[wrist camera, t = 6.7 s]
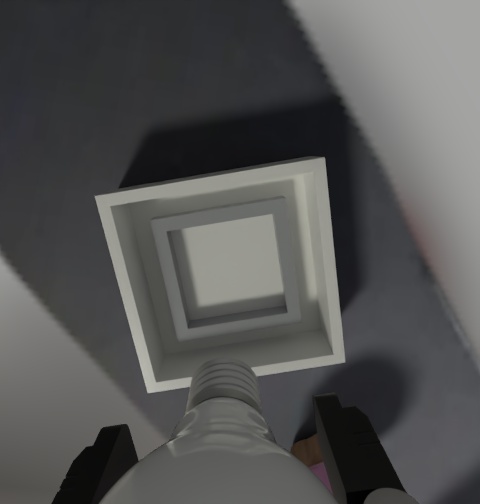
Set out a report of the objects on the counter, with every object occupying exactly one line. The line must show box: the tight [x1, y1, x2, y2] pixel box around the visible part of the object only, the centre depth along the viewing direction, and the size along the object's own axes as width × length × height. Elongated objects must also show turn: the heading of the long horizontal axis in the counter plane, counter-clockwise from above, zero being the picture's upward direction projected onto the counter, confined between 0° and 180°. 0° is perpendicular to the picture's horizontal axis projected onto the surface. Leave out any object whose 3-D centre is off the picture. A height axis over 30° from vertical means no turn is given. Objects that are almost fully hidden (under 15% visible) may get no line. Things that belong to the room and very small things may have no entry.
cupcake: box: [290, 434, 333, 495], centre depth 31 cm, size 9×9×10 cm
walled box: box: [95, 156, 345, 393], centre depth 28 cm, size 15×15×5 cm
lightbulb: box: [98, 357, 339, 504], centre depth 10 cm, size 6×6×11 cm
